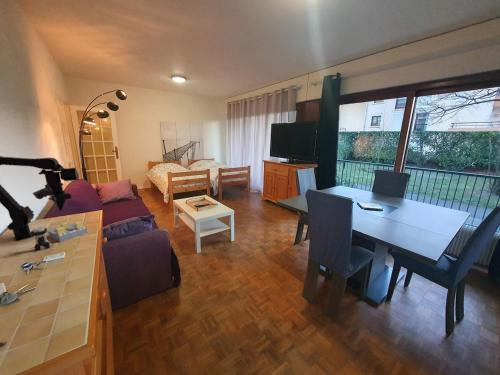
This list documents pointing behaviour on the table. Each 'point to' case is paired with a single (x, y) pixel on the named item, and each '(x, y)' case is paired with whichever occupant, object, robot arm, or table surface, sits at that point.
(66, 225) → the slider
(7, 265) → the table surface
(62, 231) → the slider
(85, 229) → the switch unit
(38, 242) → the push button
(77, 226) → the slider
